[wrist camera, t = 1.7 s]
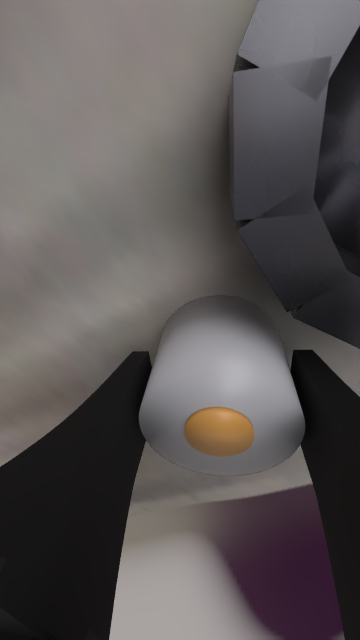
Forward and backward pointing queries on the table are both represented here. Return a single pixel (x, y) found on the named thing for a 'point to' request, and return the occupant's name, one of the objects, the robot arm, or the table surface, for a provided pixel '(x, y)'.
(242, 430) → the boiled egg half
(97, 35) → the table surface
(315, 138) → the dark grey round ring
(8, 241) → the table surface
